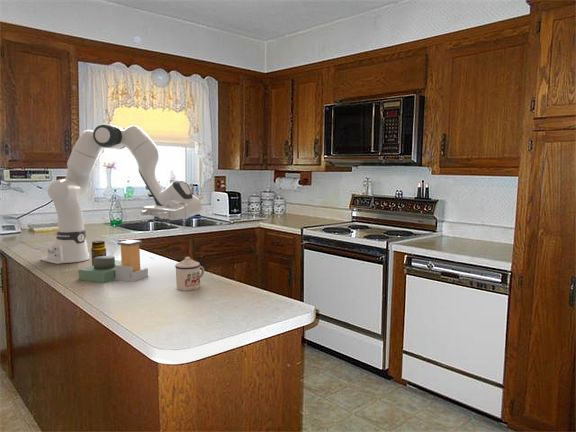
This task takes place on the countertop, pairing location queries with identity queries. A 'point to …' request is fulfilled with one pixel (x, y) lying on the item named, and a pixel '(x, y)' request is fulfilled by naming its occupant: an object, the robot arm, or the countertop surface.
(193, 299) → the countertop surface
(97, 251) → the condiment
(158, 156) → the robot arm
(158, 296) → the countertop surface
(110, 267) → the green base with knob
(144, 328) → the countertop surface
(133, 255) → the gray-capped orange pillar
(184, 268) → the teacup with lid
